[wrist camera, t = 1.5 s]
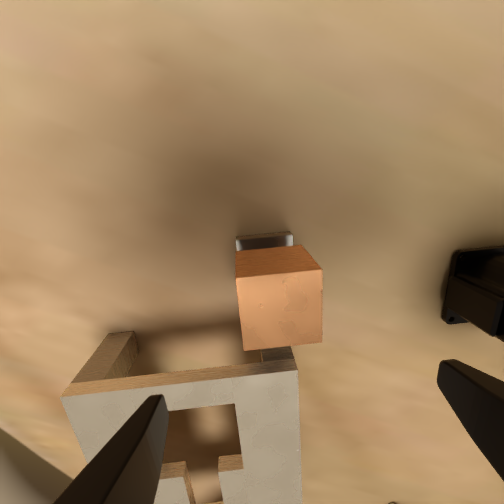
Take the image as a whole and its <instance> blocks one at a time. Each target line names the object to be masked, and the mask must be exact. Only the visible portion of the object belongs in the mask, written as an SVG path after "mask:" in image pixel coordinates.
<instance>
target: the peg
mask: <svg viewBox="0 0 504 504" xmlns="http://www.w3.org/2000/svg"><path fill="white" fill-rule="evenodd" d="M236 248H237V251H236V277H235V278H236V287H237V296H238V305H239V313H240V322H241V331H242V340H243V348H244V351H248V350H257V349H266V348H275V347H284V346H293V345H302V344H311V343H320V342H322V269H321V267H320V266H319V265H318V264H317V263H316V262H315V260H314V259H313V258H312V257H311V256H310V254H309V253H308V252H307V251H306V250H305V249H304V247H303V246H302V245H294V246H293V235H292V233H291V232H290V231H289V232H278V233H268V234H258V235H247V236H237V237H236Z"/></svg>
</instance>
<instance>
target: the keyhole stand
mask: <svg viewBox="0 0 504 504" xmlns="http://www.w3.org/2000/svg"><path fill="white" fill-rule="evenodd" d="M260 352H261V360H262V362H257V363H248V364H239V365H230V366H222V367H213V368H204V369H195V370H186V371H177V372H168V373H160V374H151V375H142V376H133V377H126V376H127V374H128V372H129V370H130V368H131V366H132V364H133V362H134V360H135V359H136V357H137V355H138V353H139V349H138V345H137V342H136V338H135V334H134V331H130V332H121V333H112V334H108V335H107V337H106V338H105V339H104V340H103V342H102V343H101V344H100V346H99V347H98V348H97V350H96V351H95V352H94V353H93V355H92V356H91V357H90V359H89V360H88V361H87V363H86V364H85V365H84V366H83V368H82V369H81V370H80V372H79V373H78V374H77V376H76V377H75V378H74V379H73V381H72V382H71V383H70V385H69V386H68V387H67V389H66V390H65V391H64V392H63V394H62V395H61V396H60V399H61V402H62V404H63V406H64V409H65V411H66V414H67V416H68V418H69V421H70V423H71V425H72V428H73V430H74V433H75V435H76V437H77V440H78V442H79V444H80V447H81V449H82V452H83V454H84V456H85V459H86V461H87V463H89V462H90V461H91V460H92V459H93V458H94V457H95V455H96V454H97V453H98V452H99V451H100V450H101V449H102V448H103V447H104V445H105V444H106V443H107V442H108V441H109V440H110V439H111V438H112V437H113V435H114V434H115V433H116V432H117V431H118V430H119V429H120V428H121V427H122V425H123V424H124V423H125V422H126V421H127V420H128V419H129V418H130V417H131V415H132V414H133V413H134V412H135V411H136V410H137V409H138V408H139V407H140V405H141V404H142V403H143V402H144V401H145V400H146V399H147V398H148V397H149V396H150V395H156V394H163V395H164V398H165V401H166V405H167V409H168V411H173V410H182V409H190V408H199V407H207V406H216V405H224V404H233V403H235V409H236V416H237V423H238V430H239V438H240V445H241V452H242V454H237V455H228V456H220V457H219V462H218V475H219V481H220V486H221V491H222V497H223V501H219V502H212V503H204V504H302V477H301V448H300V419H299V390H298V369H297V366H296V363H295V359H294V356H293V353H292V350H291V346H284V347H275V348H266V349H260ZM154 504H196V501H195V497H194V493H193V489H192V485H191V480H190V476H189V472H188V468H187V464H186V461H180V462H172V463H164V464H162V468H161V473H160V479H159V484H158V488H157V492H156V496H155V500H154Z"/></svg>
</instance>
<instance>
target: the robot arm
mask: <svg viewBox="0 0 504 504" xmlns="http://www.w3.org/2000/svg"><path fill="white" fill-rule="evenodd" d="M461 256H462V257H461ZM460 257H461V258H460ZM442 320H443V321H444V322H446V323H447V324H458V323H467V322H470V323H472V324H473V325H475V326H476V327H478V328H479V329H481V330H482V331H484V332H485V333H487V334H488V335H490V336H492V337H494V336H495V337H496V338H498V339H500V340H501V341H503V342H504V246H494V247H484V248H475V249H465V250H458V251H456V252H455V253H454V254H453V258H452V263H451V269H450V275H449V281H448V286H447V292H446V298H445V304H444V309H443V315H442ZM437 384H438V387H439V389H440V390H441V392H442V393H443V395H444V396H445V398H446V400H447V401H448V403H449V404H450V406H451V407H452V409H453V410H454V412H455V414H456V415H457V417H458V418H459V420H460V421H461V423H462V425H463V426H464V428H465V429H466V431H467V432H468V434H469V435H470V437H471V438H472V440H473V441H474V442H475V444H476V445H477V446H478V448H479V449H480V450H481V452H482V453H483V454H484V456H485V457H486V458H487V460H488V461H489V462H490V464H491V465H492V466H493V468H494V469H495V470H496V472H497V473H498V474H499V476H500V477H501V478H502V480H503V481H504V382H503V381H501V380H499V379H497V378H495V377H492V376H490V375H488V374H486V373H484V372H482V371H480V370H477V369H475V368H473V367H471V366H469V365H467V364H464V363H462V362H460V361H458V360H455V359H450V360H443V361H441V362H440V364H439V370H438V376H437ZM168 422H169V413H168V409H167V405H166V401H165V398H164V395H163V394H156V395H150V396H149V397H148V398H147V399H146V400H145V401H144V402H143V403H142V404H141V405H140V407H139V408H138V409H137V410H136V411H135V412H134V413H133V414H132V415H131V417H130V418H129V419H128V420H127V421H126V422H125V423H124V424H123V425H122V427H121V428H120V429H119V430H118V431H117V432H116V433H115V434H114V435H113V437H112V438H111V439H110V440H109V441H108V442H107V443H106V444H105V445H104V447H103V448H102V449H101V450H100V451H99V452H98V453H97V454H96V455H95V457H94V458H93V459H92V460H91V461H90V462H89V463H88V464H87V465H86V467H85V468H84V469H83V470H82V471H81V472H80V473H79V474H78V475H77V477H76V478H75V479H74V480H73V481H72V482H71V483H70V484H69V486H68V487H67V488H66V489H65V490H64V491H63V492H62V493H61V494H60V496H59V497H58V498H57V499H56V500H55V501H54V502H53V503H52V504H154V500H155V496H156V492H157V488H158V484H159V479H160V473H161V468H162V461H163V454H164V448H165V441H166V435H167V428H168Z"/></svg>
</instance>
